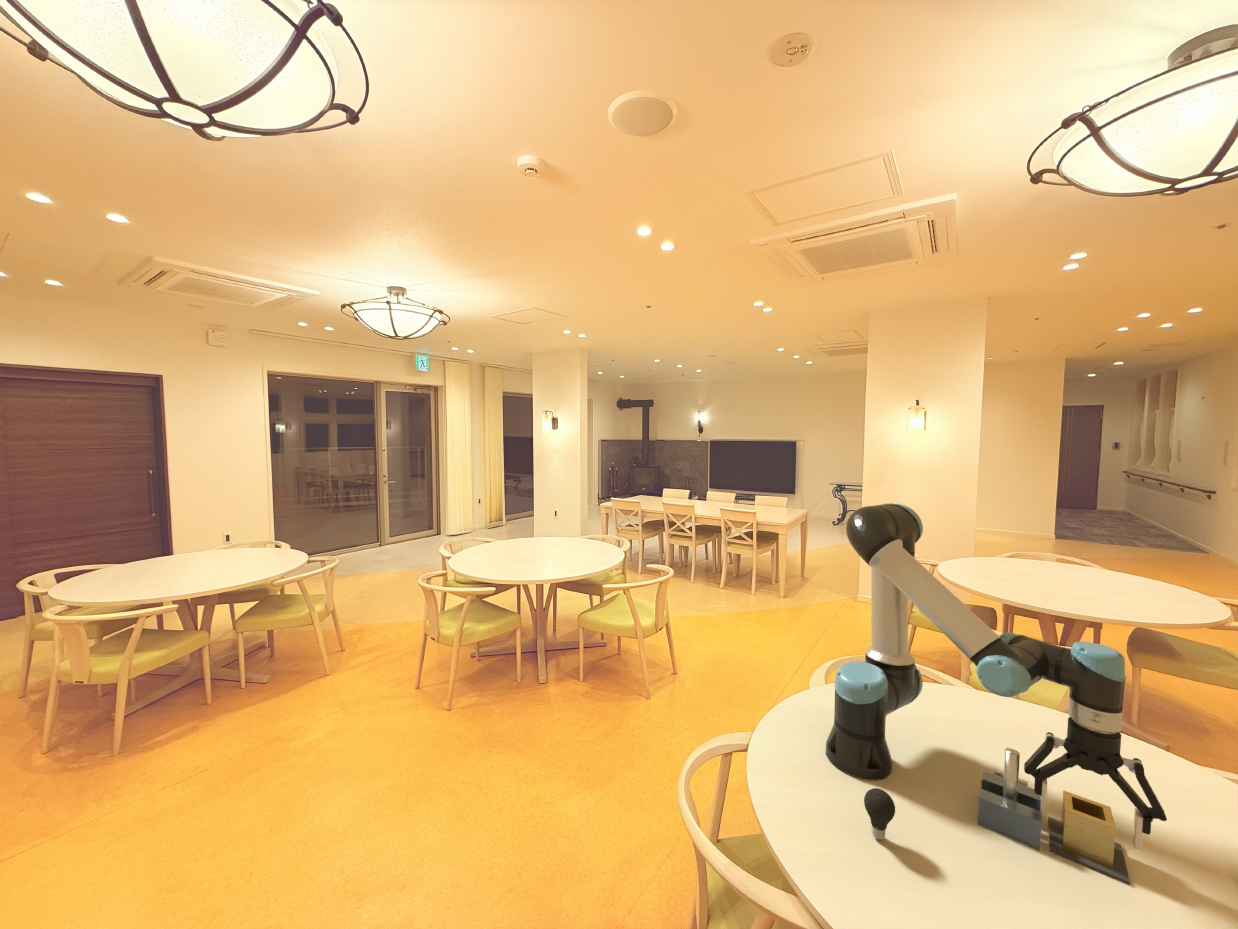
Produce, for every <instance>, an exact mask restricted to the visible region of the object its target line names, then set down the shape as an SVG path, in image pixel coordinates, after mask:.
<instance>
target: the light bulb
mask: <svg viewBox="0 0 1238 929" xmlns="http://www.w3.org/2000/svg"><path fill="white" fill-rule="evenodd" d="M863 802H864V807H865V810H866V813H867V814H868V816H869V820H870V824H871V834H872V836H873V837H874V838H875V839H876V840H877V841H880V840H884V839H885V838H886V830H887V828H888V825H889V823H890V822H891V821H892V820H893V818H894V817H895V814H896V806H895V802H894V800H893V798H892V797H891V795H890V794H889V793H888V792H886V791H885V790H884V789H881V788H878V787H877V788H876V787H875V788H871V789H869V790H867V791H866V792H865V795H864V799H863Z"/></svg>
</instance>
